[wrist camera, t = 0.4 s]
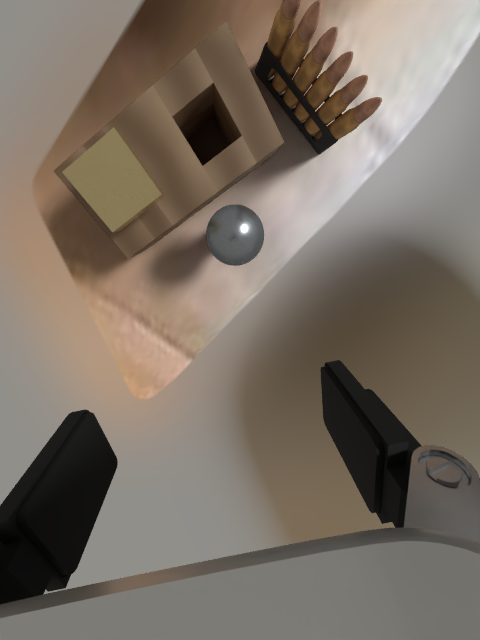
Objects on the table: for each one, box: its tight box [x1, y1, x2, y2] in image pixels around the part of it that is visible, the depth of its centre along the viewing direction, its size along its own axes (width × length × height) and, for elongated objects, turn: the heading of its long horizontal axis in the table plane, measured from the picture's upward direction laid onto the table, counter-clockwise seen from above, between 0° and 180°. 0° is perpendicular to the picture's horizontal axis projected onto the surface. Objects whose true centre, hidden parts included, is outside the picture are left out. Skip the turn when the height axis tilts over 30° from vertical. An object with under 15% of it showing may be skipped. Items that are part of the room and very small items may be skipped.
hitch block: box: [54, 22, 284, 259], centre depth 26 cm, size 18×9×8 cm, turn 123°
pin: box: [206, 205, 264, 265], centre depth 28 cm, size 5×5×10 cm
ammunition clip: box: [255, 0, 382, 154], centre depth 23 cm, size 11×2×12 cm, turn 47°
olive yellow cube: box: [62, 128, 166, 232], centre depth 21 cm, size 5×5×5 cm
